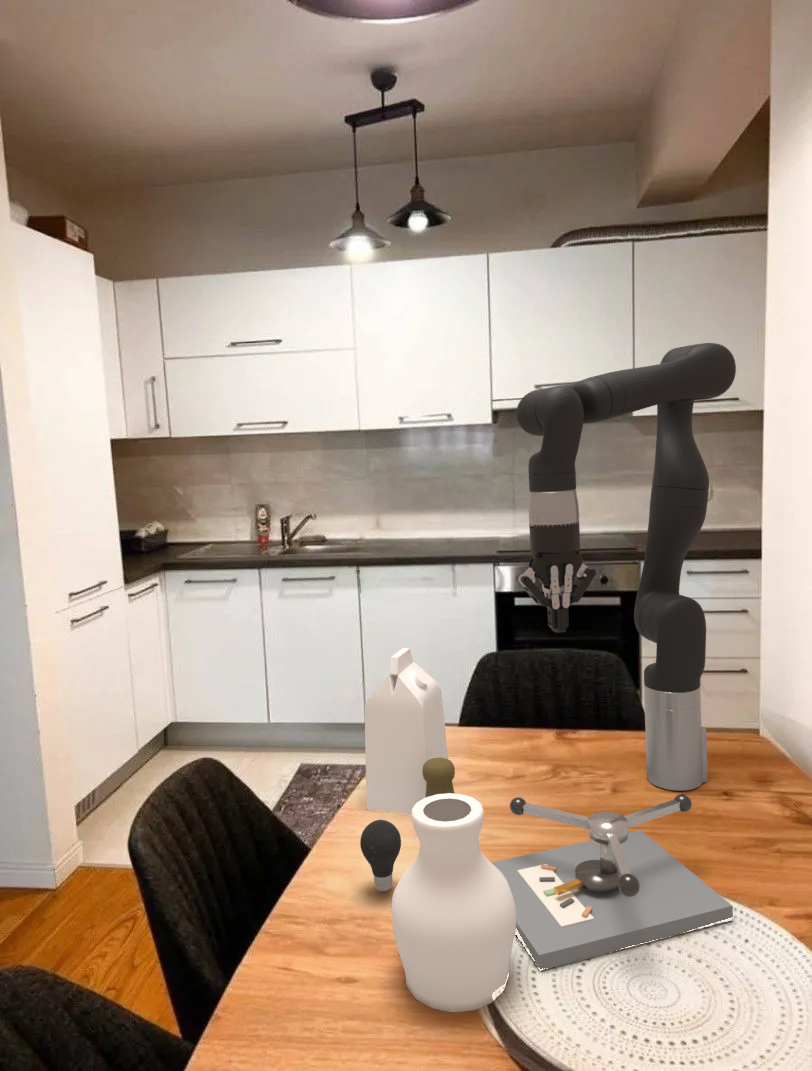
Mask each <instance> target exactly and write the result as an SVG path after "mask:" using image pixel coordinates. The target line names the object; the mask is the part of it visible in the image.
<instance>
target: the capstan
mask: <svg viewBox="0 0 812 1071" xmlns="http://www.w3.org/2000/svg"><path fill="white" fill-rule="evenodd" d="M692 805H693V802H692V800H691V798H690V797H689V795H687V794H684V793H678V794H676V796H674V798H673V799H672V800H669V801H666V802H662V803H659V804H656V805H652V806H649V807H648V808H644V809H641V810H638V811H635V812H632V813H629V814H626V815H623V814H620V813H618V812H613V811H597V812H594V813H592V814H590V815H589V816H585V815H581V814H576V813H573V812H568V811H564V810H560V809H555V808H551V807H548V806H547V807H546V806H543V805H539V804H535V803H531V802H527V801H526V800H525V799H524V798H522V797H519V796H516V797H513V798H512V799H511V801H510V802H509V809H510V811H511V812H512V813H513V814H514V815H516V816H522V815H523V814H526V815H529V816H534V817H537V818H541V819H546V820H549V821H552V822H553V821H554V822H557V823H562V824H566V825H571V826H574V827H578V828H582V829H585V830H588V837H589V838H590V839H591V841H592V840H593V841H595V842H597V843H599V849H600V860H588V861H584V862H582V863H580V864H579V865H578V866H577V867H576V869H575V878H576V880H573V881H570V882H567V883H565V884H562V885H559V886H556V887H554V892H555V893H556V894H557V895H561V894H564V893H566V892H569V891H572V890H574V889H577V888H580V887H582V888H584V889H586V890H589V891H592V892H598V893H607V892H612V891H615V890H617V889H619V890H620V892H621V893H622V894H623V895H625V896H628V897H633V896H635V895H636V894H637V893H638V892H639V889H640V884H639V881H638V879H637V878H636V877H635V876H634V875H632V874H631V872H630V870H629V867H628V864H627V862H626V859H625V856H624V854H623V851H622V849H621V846H620V844H622V843H624V842H625V841H627V839H628V833H629V829H630V828H632V827H635V826H637V825H642V824H643V823H647V822H650V821H653V820H655V819H658V818H662V817H664V816H667V815H670V814H673V813H677V812H680V813H687V812H689V811H690V810H691V809H692Z"/></svg>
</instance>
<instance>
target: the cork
mask: <svg viewBox="0 0 812 1071" xmlns="http://www.w3.org/2000/svg"><path fill="white" fill-rule="evenodd" d="M455 770H456V768H455V765H454V763H453V762H452V761H451V760H450V759H449V758H448V759H446V758H432V759H429V760H428V761H426V762H425V764H424V765H423V770H422V773H423V777H424V779H425V781H426V782H427V783H426V797H429V796H433V795H436V794H447V793H453V794H456V793H455V790H454V784H453V780H454V778H455V773H456V771H455Z"/></svg>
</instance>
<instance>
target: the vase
mask: <svg viewBox="0 0 812 1071" xmlns="http://www.w3.org/2000/svg"><path fill="white" fill-rule="evenodd" d="M484 814H485V812H484V809H483V805H482V803H481V802H480V801H478V800H477V799H476V798H474V797H472V796H468V795H466V794H462V793H461V794H460V793H455V794H453V793H447V794H436V795H433V796H429V797H426V798H424V799H422V800H420V801H419V802H417V803H416V804H415V805H414V807H413V808H412V815H411V821H412V826H413V829H414V831H415V833H416V836H417V838H418V841H419V844H420V845H419V852H418V855H417V856H416V858H415V860H414V861H412V863H411V864H410V865H408V867H407V869H405V871H404V872H403V874H402V876H401V878H400V879H399V881H398V883H397V885H396V887H395V888H394V890H393V894H392V898H391V920H392V923H391V924H392V932H393V937H394V941H395V944H396V947H397V950H398V953H399V957H400V961H401V963H402V967H403V970H404V976H405V983H406V988H407V989H409V991H410V993H411V994H412V995H413V997H414V998H415V999H416V1000H418V1001H419V1002H420V1003H422V1004H424V1005H425V1006H427V1007H430V1008H431V1009H433V1010H439V1011H443V1012H449V1013H461V1012H471V1011H477V1010H478V1009H481V1008H483V1007H485V1006H488V1005H489V1004H493V1002H492V994H493V992H495V990H497V989H498V988H499V987H501V986H502V985H504V984H505V982H506V979H507V975H508V973H509V974H510V964H511V956H512V955H511V954H512V949H513V944H514V940H515V936H516V935H515V929H516V920H517V916H516V906H515V901H514V898H513V896H512V893H511V890H510V887H509V884H508V882H507V880H506V878H505V877H504V875H503V874H502V873H501V872H500V871H499V870H498V869H497V868H496V867H495V866H494V865H493V864H492V863H491V862H492V861H490V860H489V859H488V858H487V857H486V856H485V854H484V853H483V852H482V850H481V848H480V845H479V838H480V834H481V830H482V827H483V824H484V819H485V818H484V817H485V815H484Z"/></svg>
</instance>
